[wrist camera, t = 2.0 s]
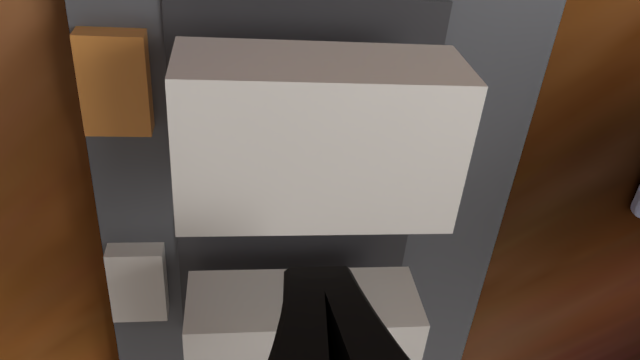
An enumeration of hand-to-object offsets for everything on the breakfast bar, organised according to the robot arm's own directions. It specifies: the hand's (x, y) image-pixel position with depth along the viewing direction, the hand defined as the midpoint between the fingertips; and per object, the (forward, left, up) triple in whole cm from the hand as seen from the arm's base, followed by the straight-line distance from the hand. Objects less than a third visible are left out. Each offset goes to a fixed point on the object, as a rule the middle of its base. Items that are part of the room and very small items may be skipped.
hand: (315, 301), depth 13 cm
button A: (0, -1, -6) cm, 6 cm away
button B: (0, +7, -6) cm, 9 cm away
